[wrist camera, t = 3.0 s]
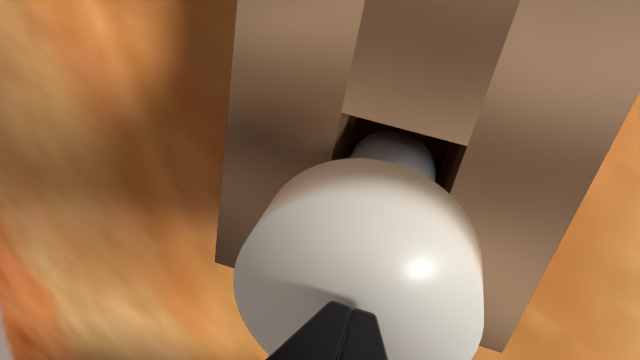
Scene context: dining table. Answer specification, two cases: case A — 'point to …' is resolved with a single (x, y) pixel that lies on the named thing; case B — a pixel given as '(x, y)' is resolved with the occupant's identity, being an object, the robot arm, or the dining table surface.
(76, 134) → the dining table surface
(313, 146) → the button block
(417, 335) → the button
